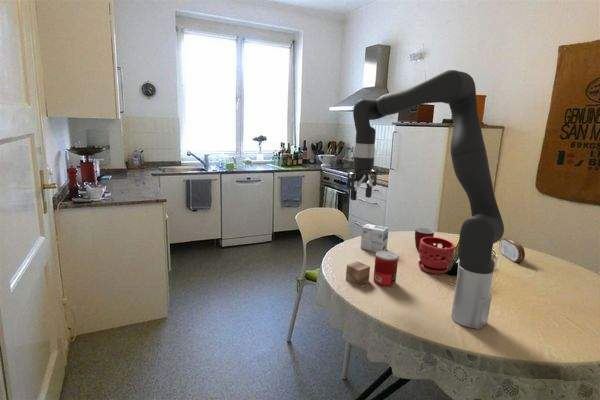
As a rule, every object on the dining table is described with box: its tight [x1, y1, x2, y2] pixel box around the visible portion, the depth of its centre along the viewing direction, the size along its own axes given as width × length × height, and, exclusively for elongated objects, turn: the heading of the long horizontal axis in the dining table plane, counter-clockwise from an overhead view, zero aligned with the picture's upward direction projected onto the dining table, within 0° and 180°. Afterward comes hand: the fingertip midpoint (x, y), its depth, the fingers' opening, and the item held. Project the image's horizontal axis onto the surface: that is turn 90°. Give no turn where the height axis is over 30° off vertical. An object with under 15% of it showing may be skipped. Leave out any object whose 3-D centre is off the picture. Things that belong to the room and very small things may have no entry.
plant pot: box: [417, 236, 456, 275], centre depth 143 cm, size 13×13×12 cm
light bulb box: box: [360, 223, 389, 253], centre depth 163 cm, size 11×7×11 cm, turn 58°
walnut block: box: [345, 260, 371, 286], centre depth 132 cm, size 6×6×6 cm
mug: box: [414, 227, 435, 252], centre depth 164 cm, size 10×8×10 cm
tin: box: [498, 237, 526, 263], centre depth 158 cm, size 15×3×8 cm, turn 2°
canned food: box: [373, 250, 399, 288], centre depth 130 cm, size 8×8×11 cm
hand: (360, 198), depth 135 cm, fingers open, 8 cm apart
